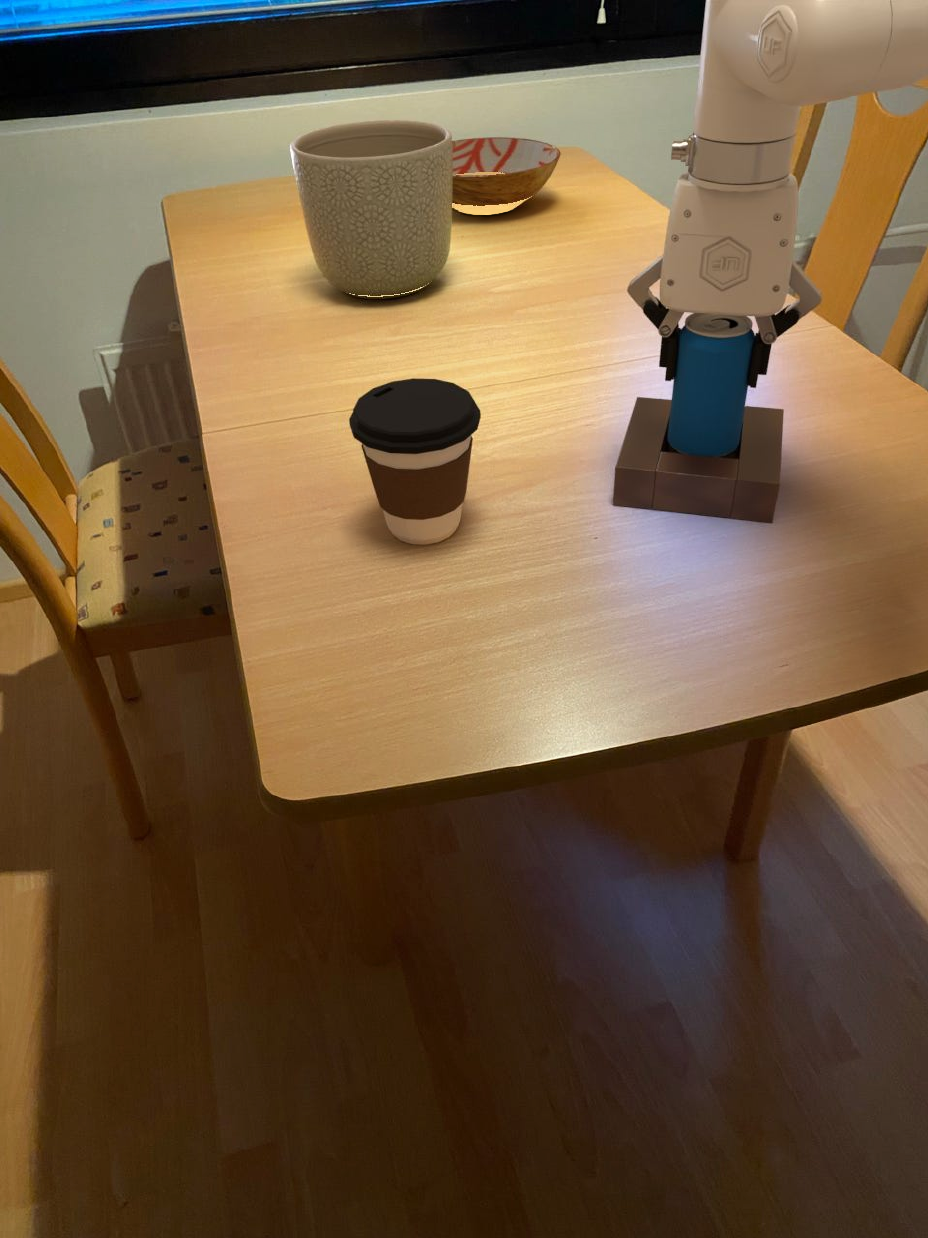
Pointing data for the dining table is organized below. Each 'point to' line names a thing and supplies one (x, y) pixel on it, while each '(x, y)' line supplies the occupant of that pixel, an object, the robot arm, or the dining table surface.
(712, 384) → the beverage can
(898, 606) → the dining table surface
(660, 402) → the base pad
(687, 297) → the robot arm
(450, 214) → the planter
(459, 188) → the bowl
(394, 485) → the coffee cup
